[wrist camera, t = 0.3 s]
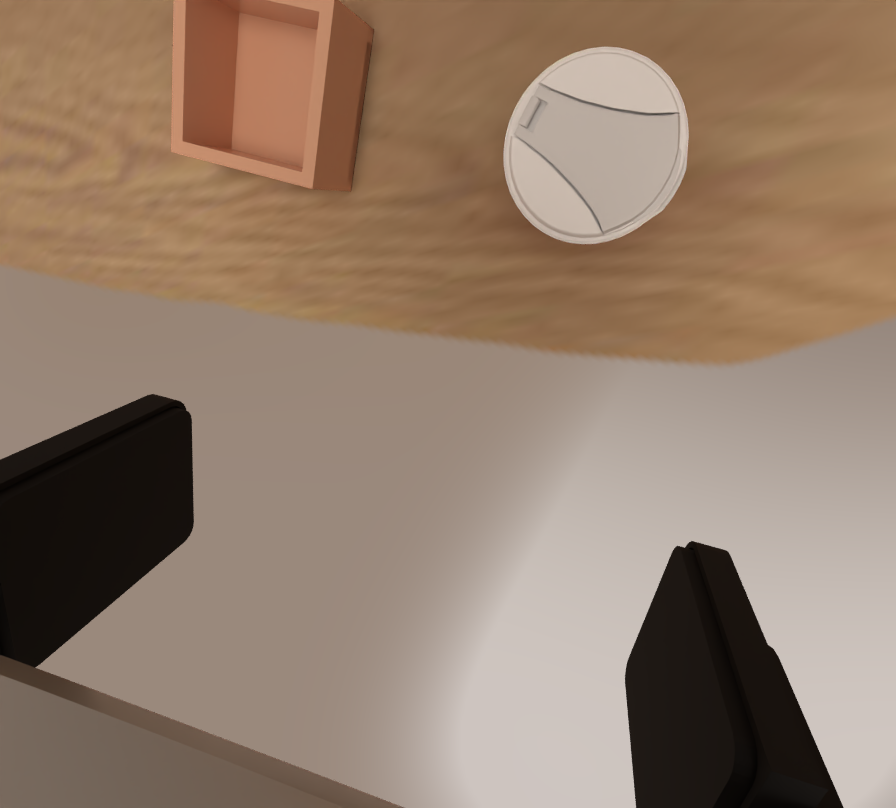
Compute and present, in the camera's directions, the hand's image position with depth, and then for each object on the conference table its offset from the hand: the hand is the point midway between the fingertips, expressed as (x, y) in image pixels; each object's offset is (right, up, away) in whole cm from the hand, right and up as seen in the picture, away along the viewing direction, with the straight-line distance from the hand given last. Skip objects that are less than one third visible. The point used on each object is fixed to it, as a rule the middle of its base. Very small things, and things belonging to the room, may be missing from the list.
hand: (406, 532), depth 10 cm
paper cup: (+10, +18, +25) cm, 32 cm away
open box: (-10, +24, +27) cm, 38 cm away
